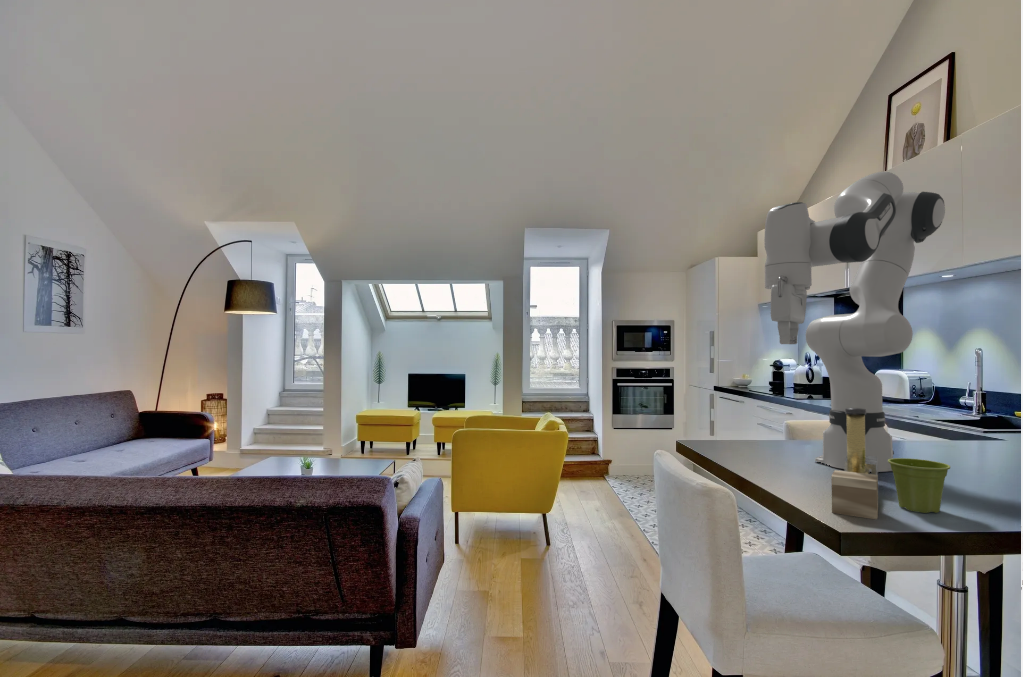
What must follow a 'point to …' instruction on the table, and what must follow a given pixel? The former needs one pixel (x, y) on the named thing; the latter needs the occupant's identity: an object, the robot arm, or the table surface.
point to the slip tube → (856, 440)
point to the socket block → (855, 494)
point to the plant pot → (919, 483)
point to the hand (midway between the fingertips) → (788, 344)
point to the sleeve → (868, 464)
